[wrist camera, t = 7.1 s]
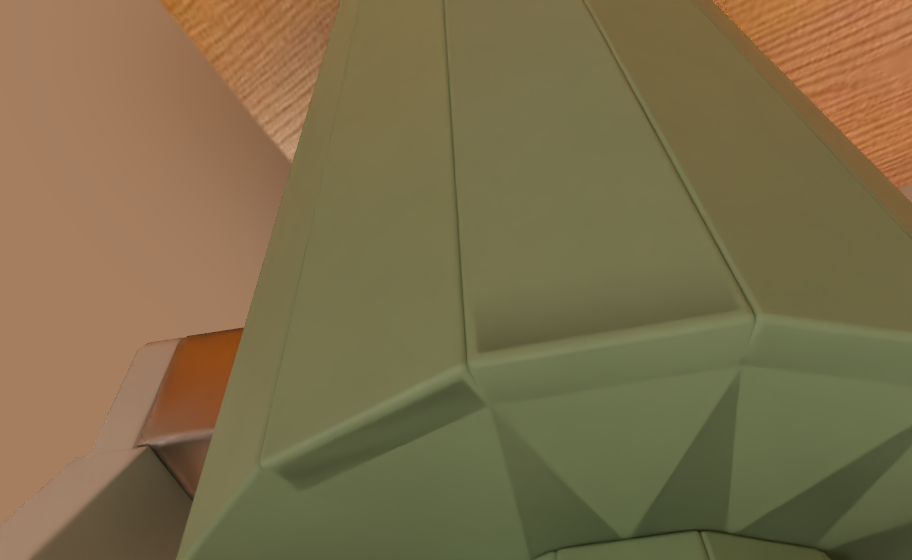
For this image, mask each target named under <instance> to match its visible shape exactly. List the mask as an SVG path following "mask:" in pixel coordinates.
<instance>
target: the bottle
mask: <svg viewBox="0 0 912 560" xmlns="http://www.w3.org/2000/svg"><path fill="white" fill-rule="evenodd" d="M176 560H912V203H911V202H910V201H909V200H908V199H907V198H906V197H905V196H904V195H903V194H902V193H901V192H900V191H899V190H898V189H897V188H896V187H895V186H894V185H893V184H892V183H891V182H890V181H889V180H888V179H887V178H886V177H885V175H884V174H883V173H882V172H881V171H880V170H879V169H878V168H877V167H876V166H875V165H874V164H873V163H872V162H871V161H870V160H869V159H868V158H867V157H866V156H865V155H864V154H863V153H862V152H861V151H860V150H859V149H858V148H857V147H856V146H855V145H854V144H853V143H852V142H851V141H850V140H849V139H848V138H847V137H846V136H845V135H844V134H843V133H842V132H841V131H840V130H839V129H838V128H837V127H836V126H835V125H834V124H833V123H832V122H831V121H830V120H829V119H828V118H827V117H826V116H825V115H824V114H823V113H822V112H821V111H820V110H819V109H818V108H817V107H816V106H815V105H814V104H813V103H812V102H811V101H810V100H809V99H808V98H807V97H806V96H805V95H804V94H803V93H802V91H801V90H800V89H799V88H798V87H797V86H796V85H795V84H794V83H793V82H792V81H791V80H790V79H789V78H788V77H787V76H786V75H785V74H784V73H783V72H782V71H781V70H780V69H779V68H778V67H777V66H776V65H775V64H774V63H773V62H772V61H771V60H770V59H769V58H768V57H767V56H766V55H765V54H764V53H763V52H762V51H761V50H760V49H759V48H758V47H757V46H756V45H755V44H754V43H753V42H752V41H751V40H750V39H749V38H748V37H747V36H746V35H745V34H744V33H743V32H742V31H741V30H740V29H739V28H738V27H737V26H736V25H735V24H734V23H733V22H732V21H731V20H730V19H729V18H728V17H727V16H726V15H725V14H724V13H723V12H722V11H721V10H720V9H719V8H718V7H717V5H716V4H715V3H714V2H713V1H712V0H340V3H339V6H338V10H337V13H336V17H335V20H334V23H333V27H332V30H331V34H330V37H329V40H328V44H327V47H326V51H325V54H324V57H323V61H322V64H321V68H320V71H319V74H318V78H317V81H316V85H315V88H314V92H313V95H312V98H311V102H310V105H309V109H308V112H307V115H306V119H305V122H304V126H303V129H302V132H301V136H300V139H299V143H298V146H297V149H296V153H295V156H294V160H293V163H292V167H291V170H290V173H289V177H288V181H287V183H286V187H285V190H284V194H283V197H282V200H281V204H280V207H279V211H278V214H277V217H276V221H275V225H274V228H273V231H272V235H271V238H270V241H269V245H268V248H267V251H266V255H265V258H264V262H263V265H262V269H261V272H260V276H259V279H258V282H257V286H256V289H255V292H254V296H253V299H252V303H251V306H250V309H249V313H248V317H247V320H246V323H245V327H244V330H243V333H242V337H241V340H240V343H239V347H238V350H237V354H236V357H235V360H234V364H233V367H232V371H231V374H230V377H229V381H228V384H227V388H226V391H225V394H224V398H223V401H222V405H221V408H220V411H219V415H218V418H217V422H216V425H215V429H214V432H213V435H212V439H211V442H210V446H209V449H208V452H207V456H206V459H205V463H204V466H203V469H202V473H201V476H200V480H199V483H198V486H197V490H196V493H195V497H194V500H193V503H192V507H191V510H190V514H189V517H188V520H187V524H186V527H185V531H184V534H183V537H182V541H181V544H180V548H179V551H178V554H177V558H176Z"/></svg>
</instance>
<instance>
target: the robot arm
mask: <svg viewBox="0 0 912 560" xmlns="http://www.w3.org/2000/svg"><path fill="white" fill-rule="evenodd" d="M243 330H244V328H238V329H232V330H225V331H219V332H212V333H205V334H199V335H192V336H187V337H186V338H177V339H171V340H164V341H158V342H151V343H147V344H146V345H144V346H143V347H142V348H140V349H139V350H138V351H137V353H136V355H135V357H134V359H133V361H132V364H131V366H130V368H129V370H128V372H127V374H126V376H125V379H124V381H123V383H122V385H121V387H120V390H119V392H118V394H117V396H116V398H115V400H114V403H113V405H112V407H111V409H110V412H109V413H108V415H107V418H106V420H105V422H104V424H103V426H102V428H101V431H100V433H99V435H98V437H97V439H96V442H95V444H94V446H93V448H92V450H91V452H90V455H88V456H82V457H76V458H75V459H74V460H73V461H72V462H71V463H70V464H68V465H67V466H66V467H65V468H64V469H63V470H62V471H60V472H59V473H58V474H57V475H56V476H55V477H54V478H53V479H51V480H50V481H49V482H48V483H47V484H46V485H45V486H44V487H42V488H41V489H40V490H39V491H38V492H37V493H36V494H35V495H34V496H32V497H31V498H30V499H29V500H28V501H27V502H26V503H24V504H23V505H22V506H21V507H20V508H19V509H18V510H17V511H15V512H14V513H13V514H12V515H11V516H10V517H9V518H8V519H7V520H5V521H4V522H3V523H2V524H1V525H0V560H176V558H177V554H178V551H179V548H180V544H181V541H182V537H183V534H184V531H185V527H186V524H187V520H188V517H189V514H190V510H191V507H192V503H193V500H194V497H195V493H196V490H197V486H198V483H199V480H200V476H201V473H202V469H203V466H204V463H205V459H206V456H207V452H208V449H209V446H210V442H211V439H212V435H213V432H214V429H215V425H216V422H217V418H218V415H219V411H220V408H221V405H222V401H223V398H224V394H225V391H226V388H227V384H228V381H229V377H230V374H231V371H232V367H233V364H234V360H235V357H236V354H237V350H238V347H239V343H240V340H241V337H242V333H243Z"/></svg>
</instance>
